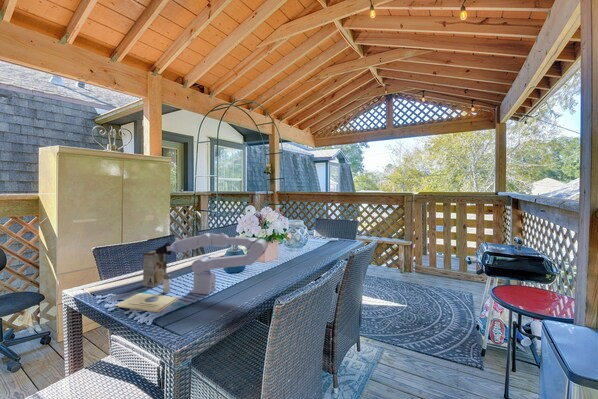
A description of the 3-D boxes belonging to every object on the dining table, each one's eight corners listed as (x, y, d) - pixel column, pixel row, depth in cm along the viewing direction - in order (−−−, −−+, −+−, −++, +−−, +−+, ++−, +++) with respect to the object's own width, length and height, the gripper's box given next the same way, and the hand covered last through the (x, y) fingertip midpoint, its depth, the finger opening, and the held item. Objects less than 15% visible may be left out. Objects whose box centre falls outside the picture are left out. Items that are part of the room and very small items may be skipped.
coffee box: (155, 280, 147) (156, 249, 146) (166, 281, 146) (167, 250, 145) (142, 286, 138) (142, 253, 137) (154, 287, 137) (154, 254, 136)
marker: (171, 291, 133) (171, 274, 133) (167, 293, 130) (167, 276, 130) (165, 290, 133) (166, 273, 133) (161, 293, 131) (161, 275, 130)
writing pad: (180, 298, 125) (180, 297, 125) (158, 312, 111) (158, 311, 111) (139, 293, 129) (139, 292, 129) (114, 306, 115) (114, 305, 115)
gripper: (193, 234, 142) (168, 240, 144) (178, 237, 128) (150, 243, 129) (196, 248, 142) (171, 254, 143) (181, 252, 127) (153, 259, 129)
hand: (161, 250), depth 136 cm, fingers open, 7 cm apart
